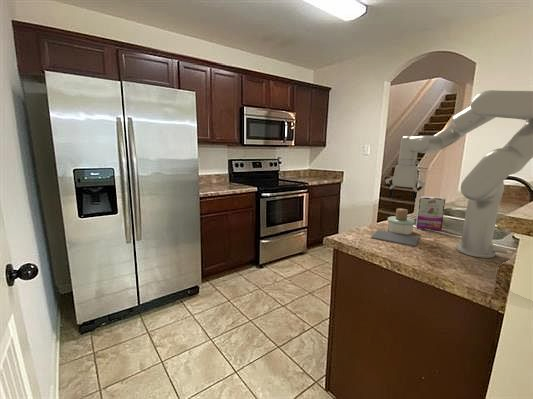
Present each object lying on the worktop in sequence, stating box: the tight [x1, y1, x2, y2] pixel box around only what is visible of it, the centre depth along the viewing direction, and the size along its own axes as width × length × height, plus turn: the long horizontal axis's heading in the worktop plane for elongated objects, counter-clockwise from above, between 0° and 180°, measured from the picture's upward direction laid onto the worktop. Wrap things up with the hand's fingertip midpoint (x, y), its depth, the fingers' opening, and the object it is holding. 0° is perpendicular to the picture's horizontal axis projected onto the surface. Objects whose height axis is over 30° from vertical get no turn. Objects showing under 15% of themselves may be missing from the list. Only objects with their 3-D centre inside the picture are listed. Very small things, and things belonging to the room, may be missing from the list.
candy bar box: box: [415, 195, 446, 232], centre depth 135 cm, size 11×5×16 cm, turn 68°
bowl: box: [387, 220, 415, 235], centre depth 132 cm, size 11×11×5 cm
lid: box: [387, 207, 416, 226], centre depth 131 cm, size 12×12×6 cm
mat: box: [371, 229, 420, 248], centre depth 122 cm, size 18×13×1 cm
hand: (402, 198), depth 129 cm, fingers open, 9 cm apart
